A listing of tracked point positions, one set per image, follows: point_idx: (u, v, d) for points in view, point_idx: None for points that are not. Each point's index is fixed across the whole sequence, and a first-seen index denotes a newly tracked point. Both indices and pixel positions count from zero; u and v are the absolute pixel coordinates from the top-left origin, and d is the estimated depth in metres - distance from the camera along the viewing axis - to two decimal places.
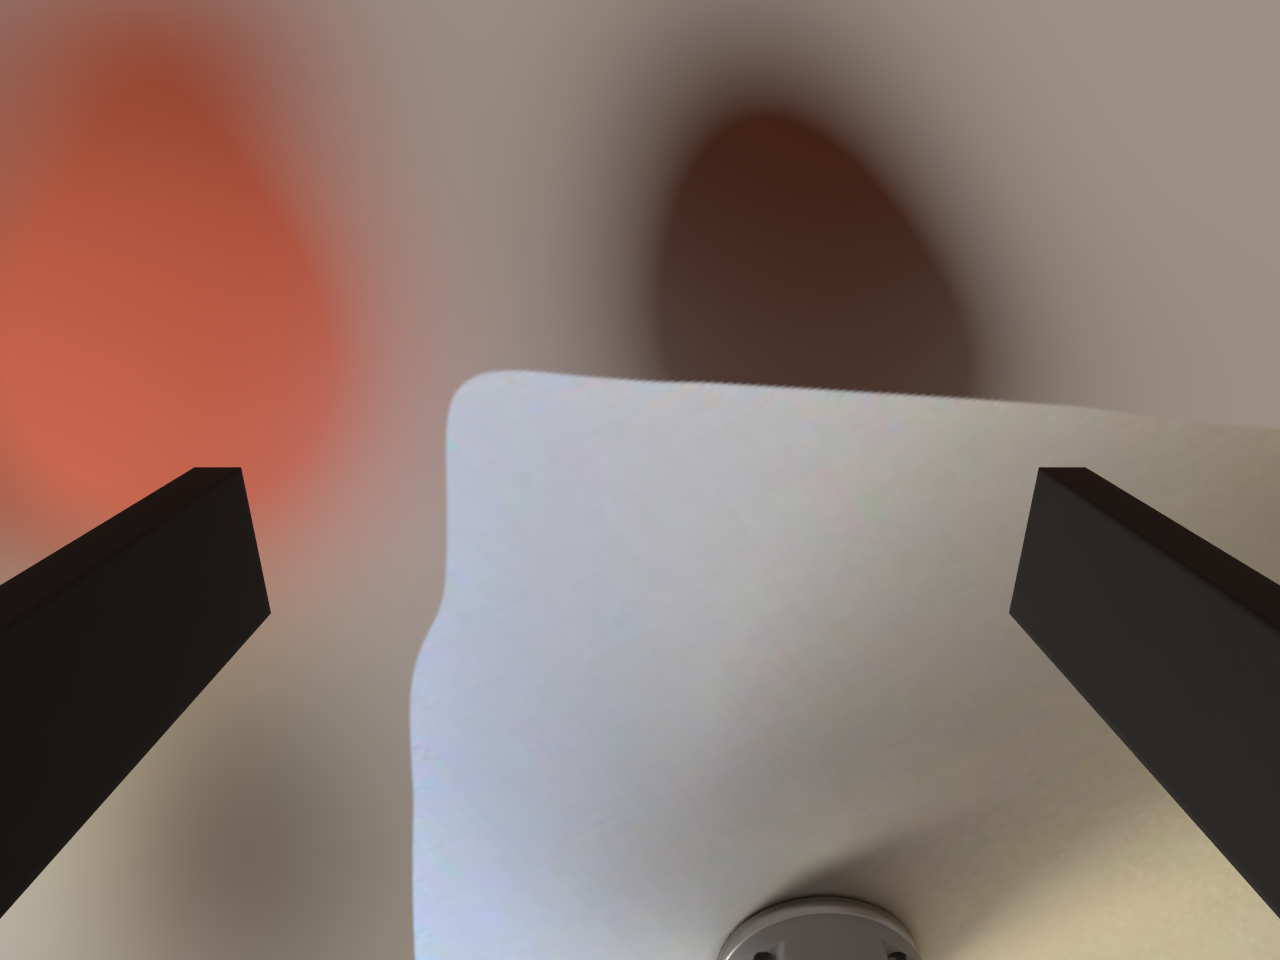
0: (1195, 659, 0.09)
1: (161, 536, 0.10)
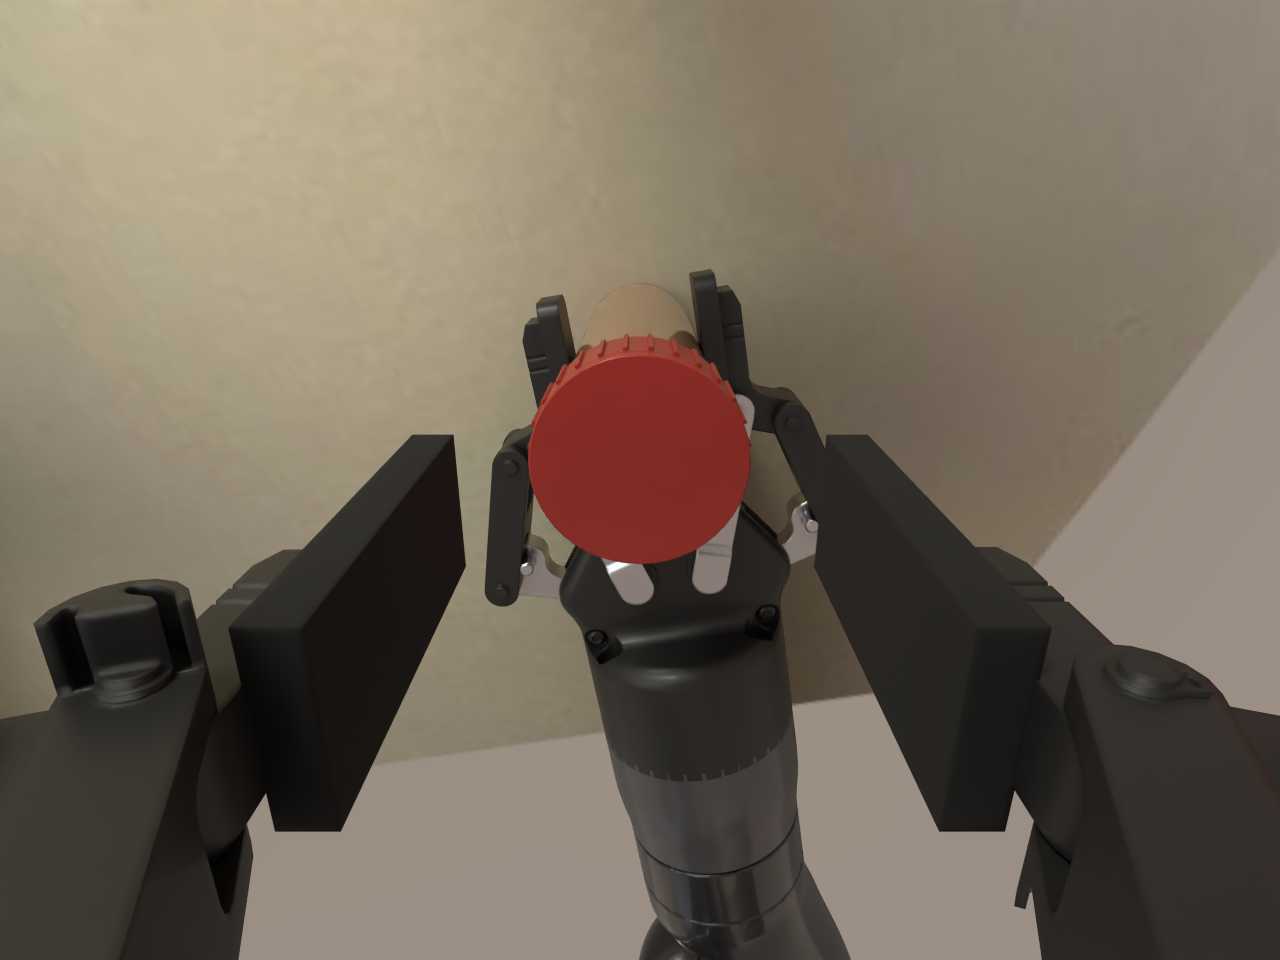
0: (887, 585, 0.10)
1: (422, 488, 0.12)
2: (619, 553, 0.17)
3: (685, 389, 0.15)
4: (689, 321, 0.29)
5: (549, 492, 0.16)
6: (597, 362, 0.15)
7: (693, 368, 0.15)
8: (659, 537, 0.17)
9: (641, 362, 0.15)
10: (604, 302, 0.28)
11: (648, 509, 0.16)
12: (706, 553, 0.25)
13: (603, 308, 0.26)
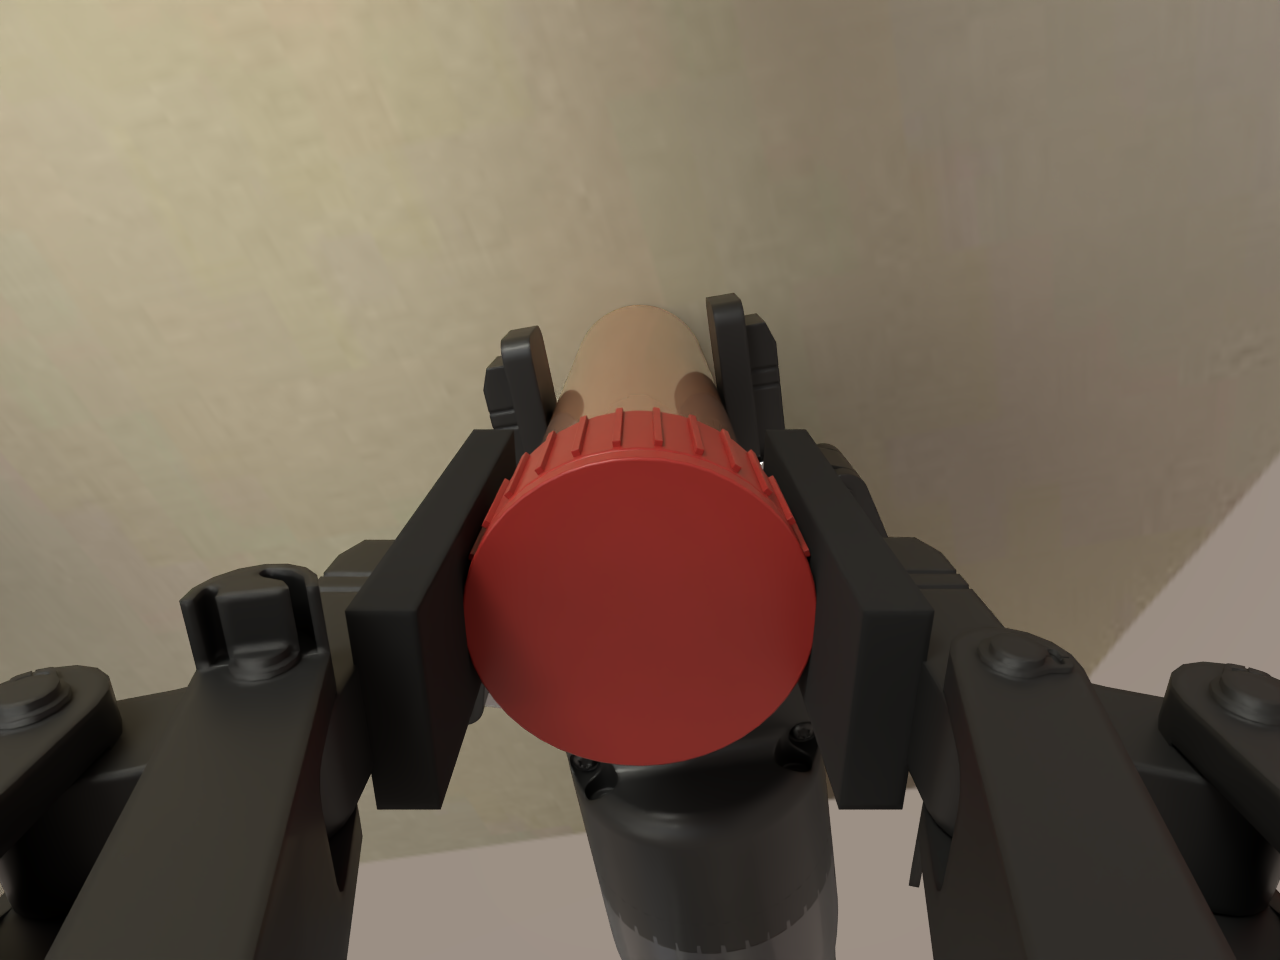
0: None
1: (493, 481, 0.12)
2: (608, 751, 0.11)
3: (715, 511, 0.09)
4: None
5: (497, 664, 0.10)
6: (570, 469, 0.09)
7: (728, 479, 0.09)
8: (671, 728, 0.11)
9: (643, 469, 0.09)
10: (595, 330, 0.22)
11: (654, 689, 0.10)
12: None
13: (593, 340, 0.20)
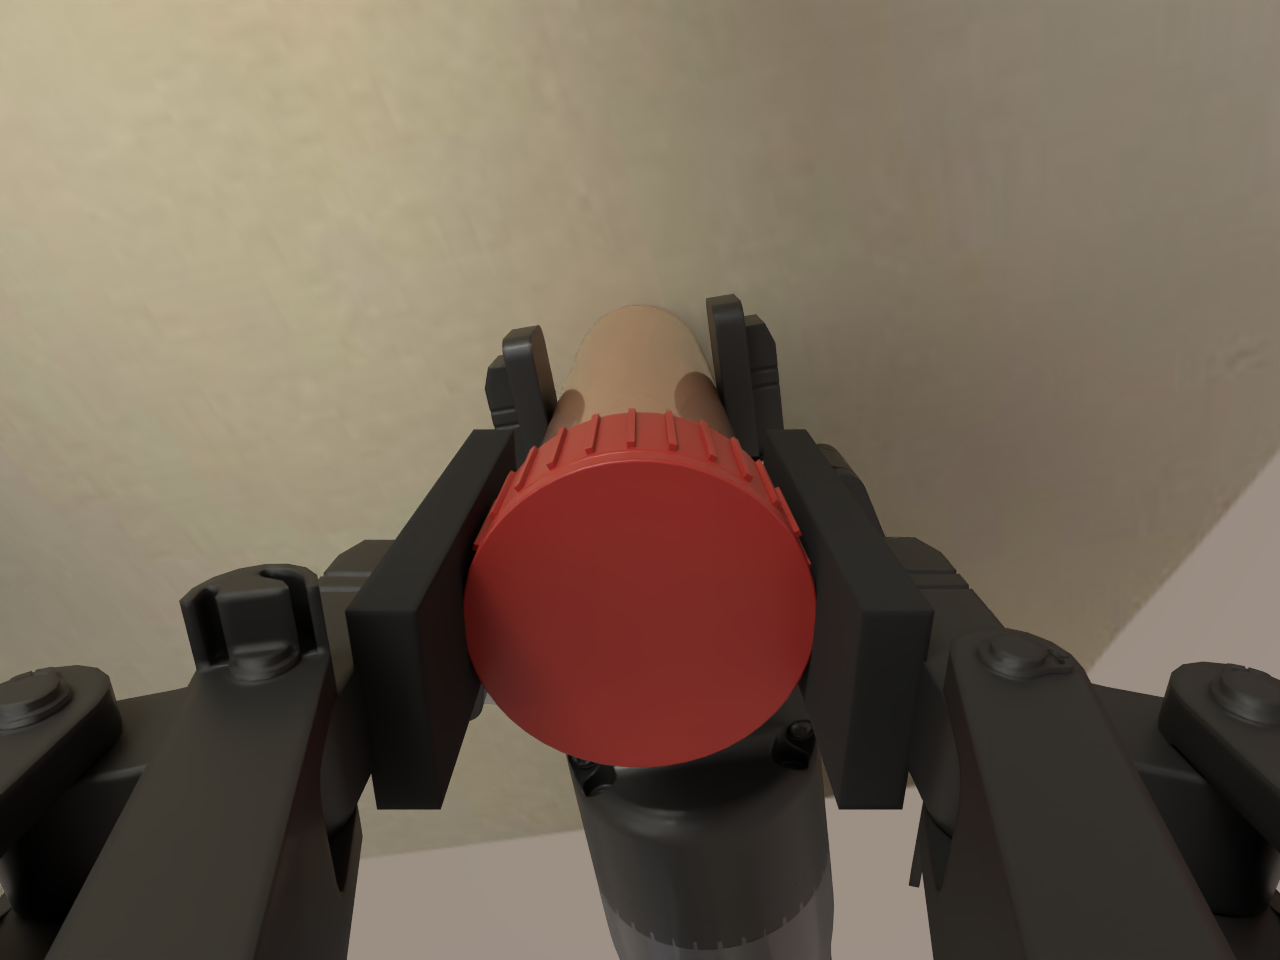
0: None
1: (493, 481, 0.12)
2: (798, 635, 0.10)
3: (503, 581, 0.10)
4: None
5: (703, 738, 0.11)
6: (492, 697, 0.10)
7: (468, 575, 0.10)
8: (763, 581, 0.10)
9: (477, 644, 0.10)
10: (595, 330, 0.22)
11: (714, 604, 0.10)
12: None
13: (593, 340, 0.21)
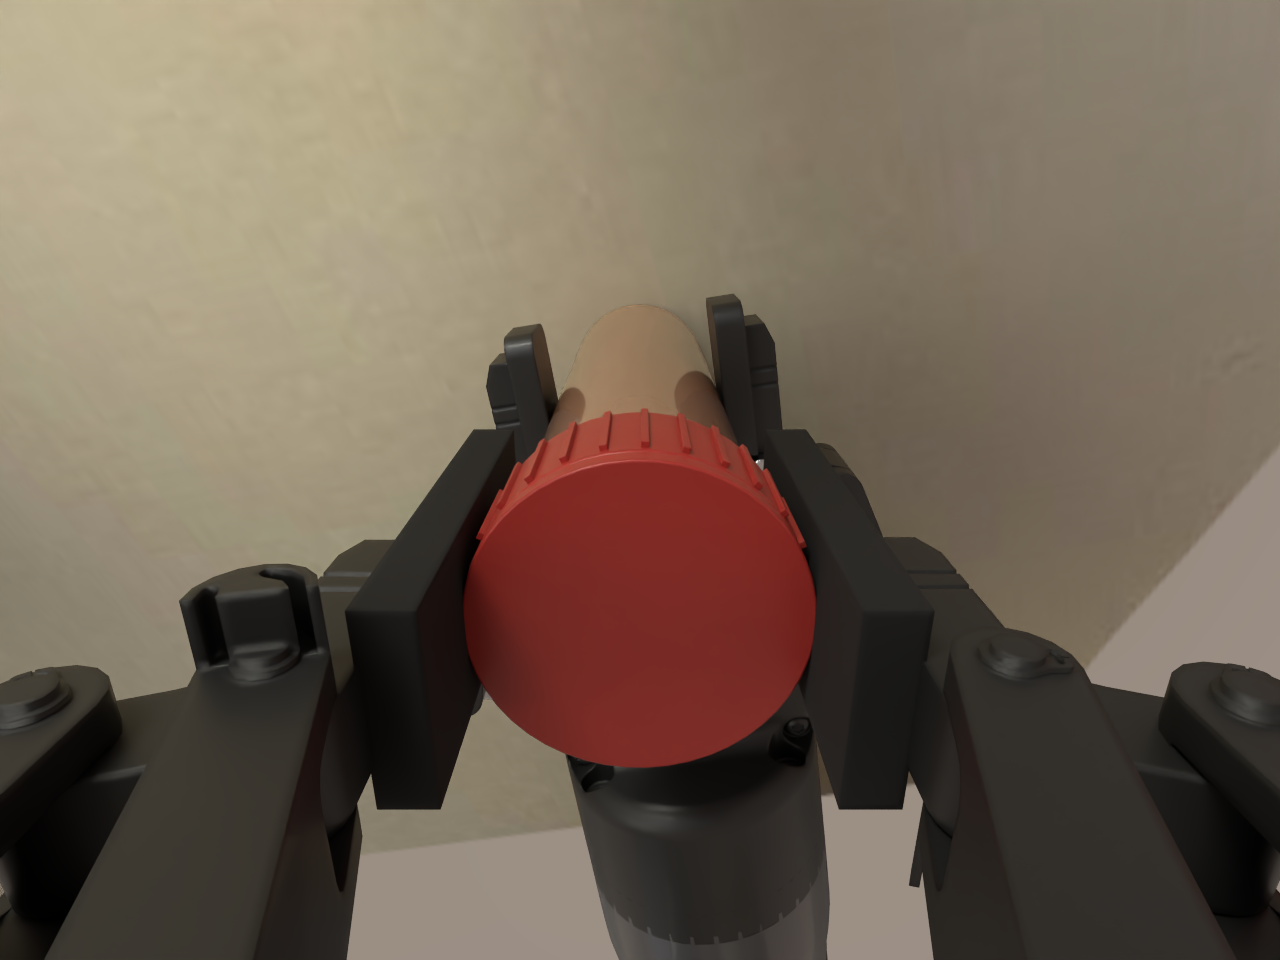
0: None
1: (493, 481, 0.12)
2: (624, 477, 0.09)
3: (609, 740, 0.11)
4: None
5: (770, 548, 0.10)
6: (741, 737, 0.11)
7: None
8: (566, 525, 0.09)
9: (681, 753, 0.11)
10: (596, 329, 0.23)
11: (601, 565, 0.10)
12: None
13: (594, 339, 0.21)
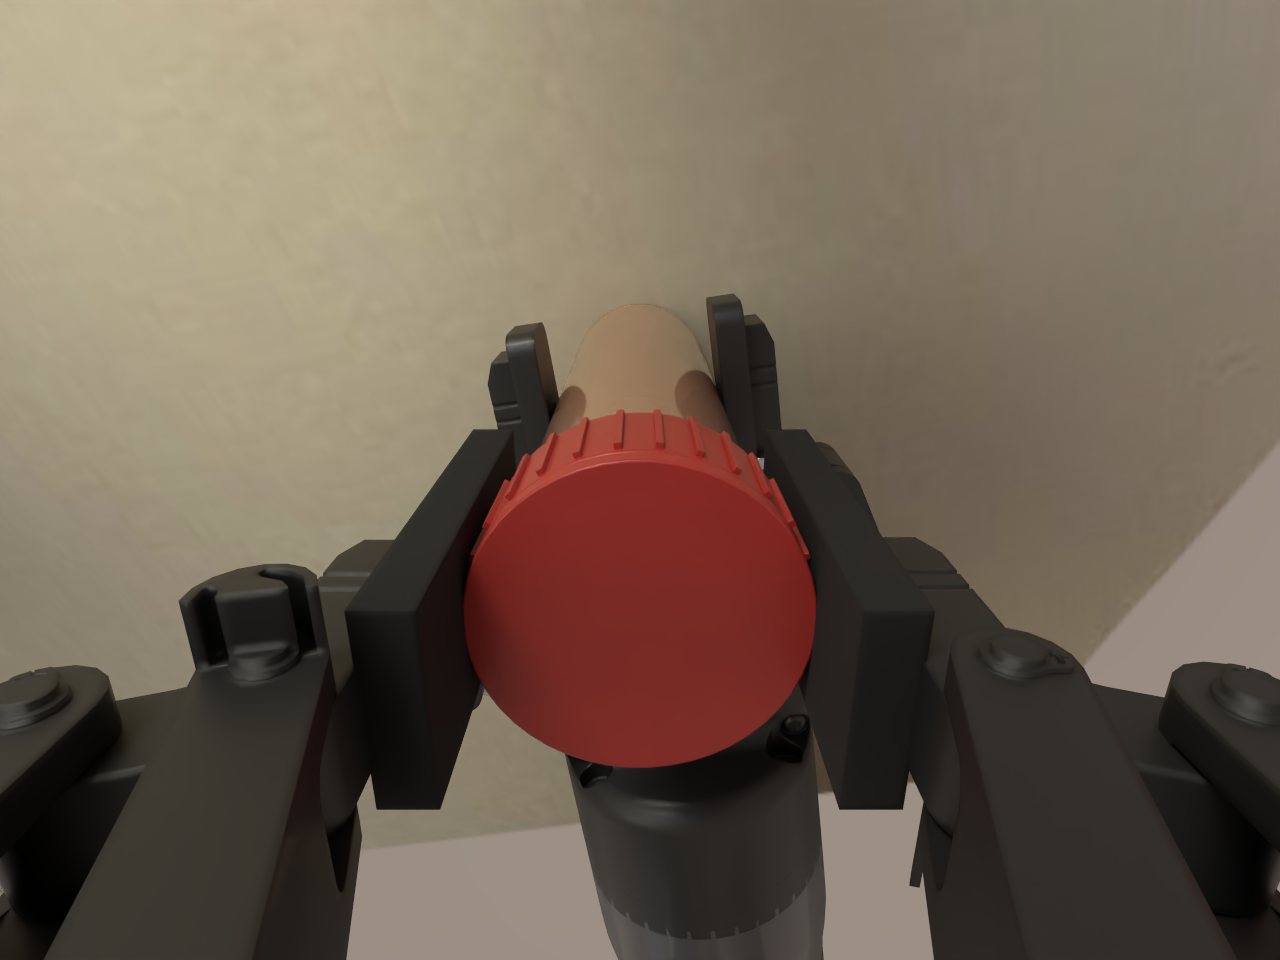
0: None
1: (493, 481, 0.12)
2: (486, 658, 0.10)
3: (781, 637, 0.10)
4: None
5: (529, 525, 0.09)
6: (768, 507, 0.09)
7: None
8: (543, 697, 0.10)
9: (795, 565, 0.10)
10: (597, 328, 0.23)
11: (578, 666, 0.10)
12: None
13: (595, 338, 0.21)
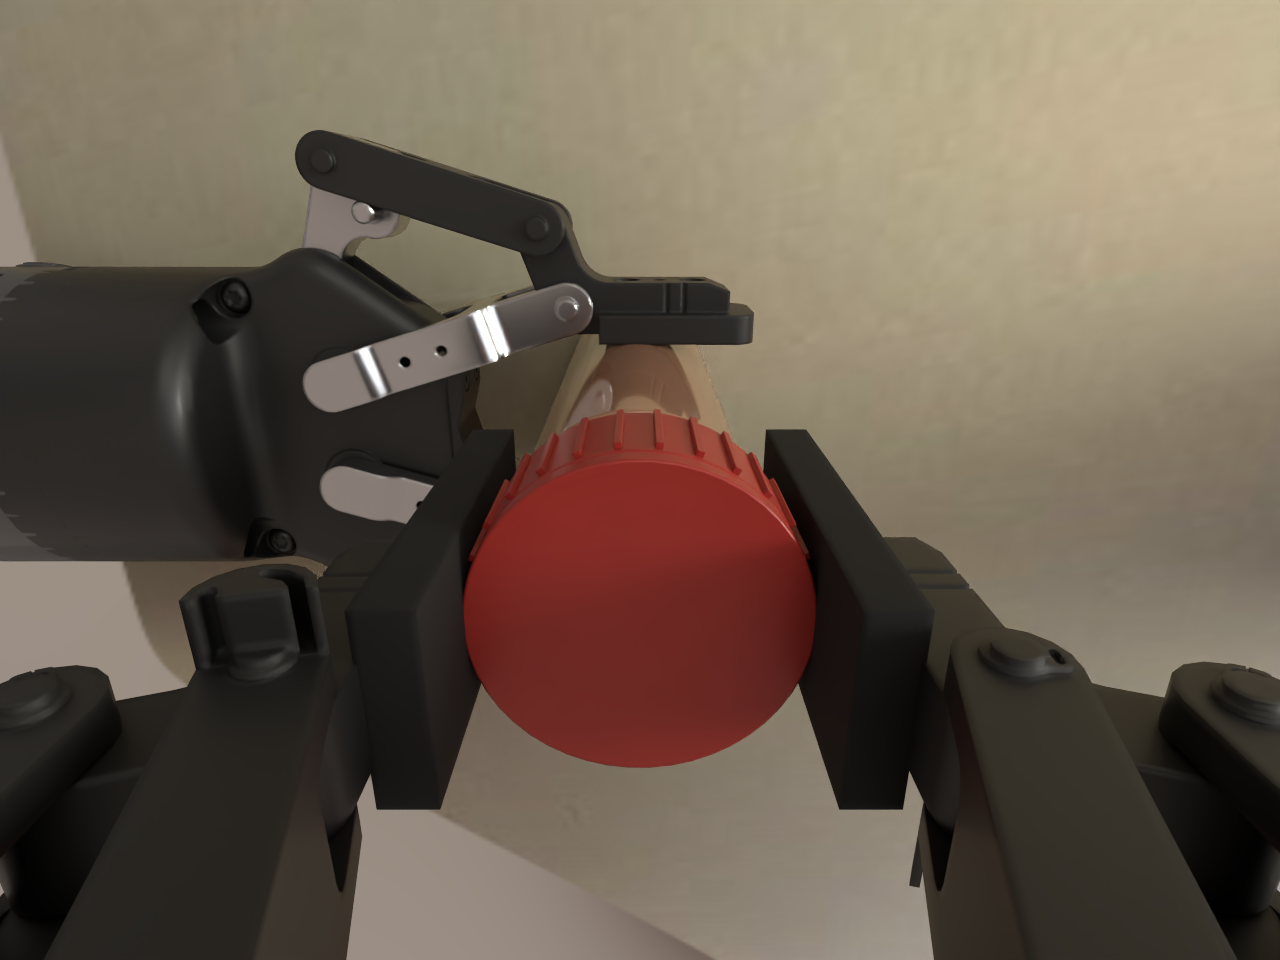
0: None
1: (492, 481, 0.12)
2: (486, 658, 0.10)
3: (781, 637, 0.10)
4: None
5: (529, 525, 0.09)
6: (768, 507, 0.09)
7: None
8: (543, 697, 0.10)
9: (795, 565, 0.10)
10: (696, 346, 0.23)
11: (578, 666, 0.10)
12: (384, 489, 0.18)
13: (702, 360, 0.21)
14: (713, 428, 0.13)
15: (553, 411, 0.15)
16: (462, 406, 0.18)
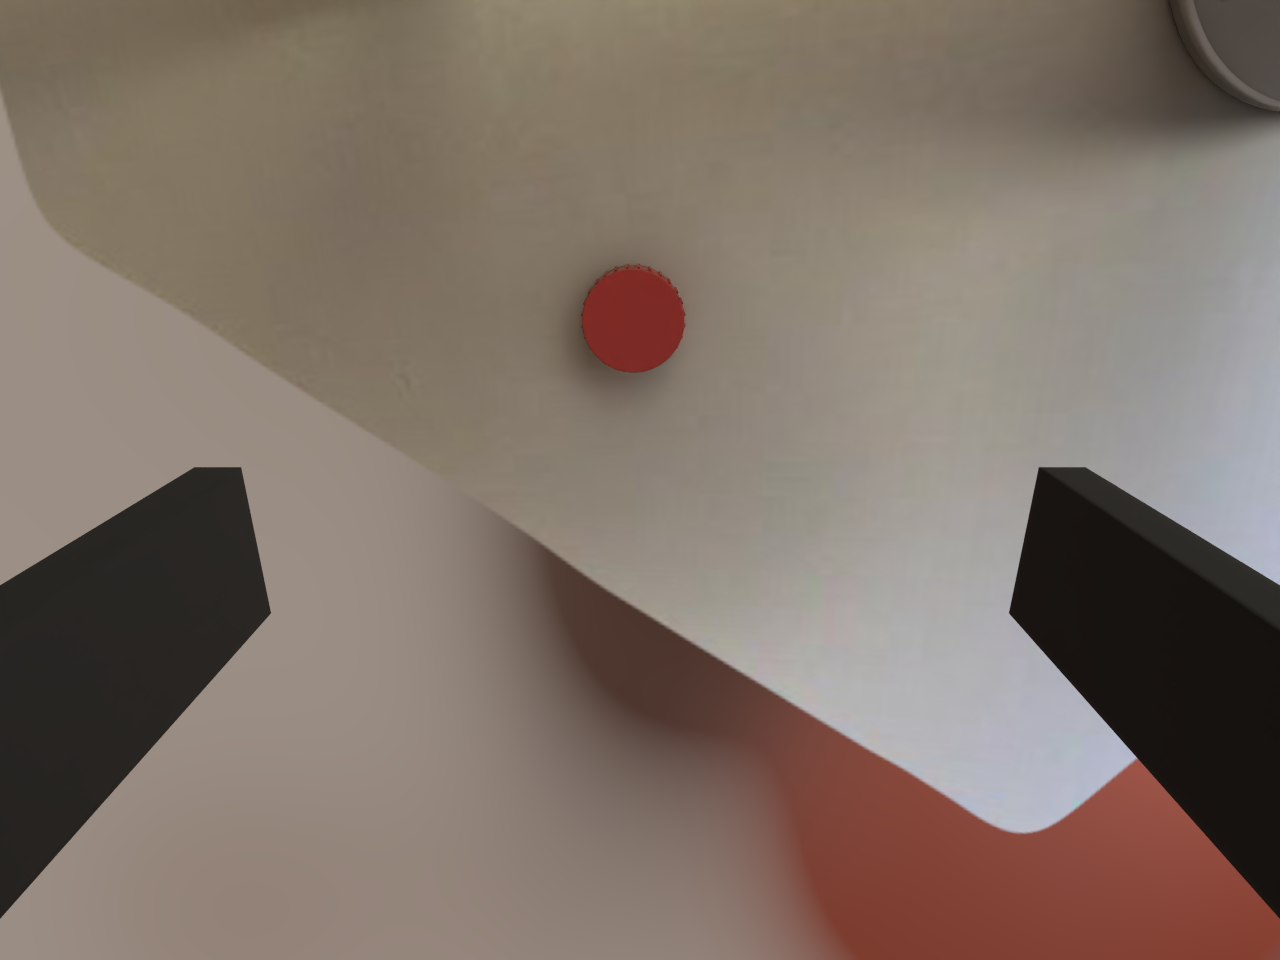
0: (1195, 659, 0.09)
1: (162, 536, 0.10)
2: (588, 332, 0.35)
3: (674, 325, 0.35)
4: None
5: (602, 289, 0.34)
6: (668, 284, 0.34)
7: (684, 324, 0.35)
8: (604, 346, 0.35)
9: (676, 302, 0.34)
10: None
11: (615, 335, 0.35)
12: None
13: None
14: None
15: None
16: None
